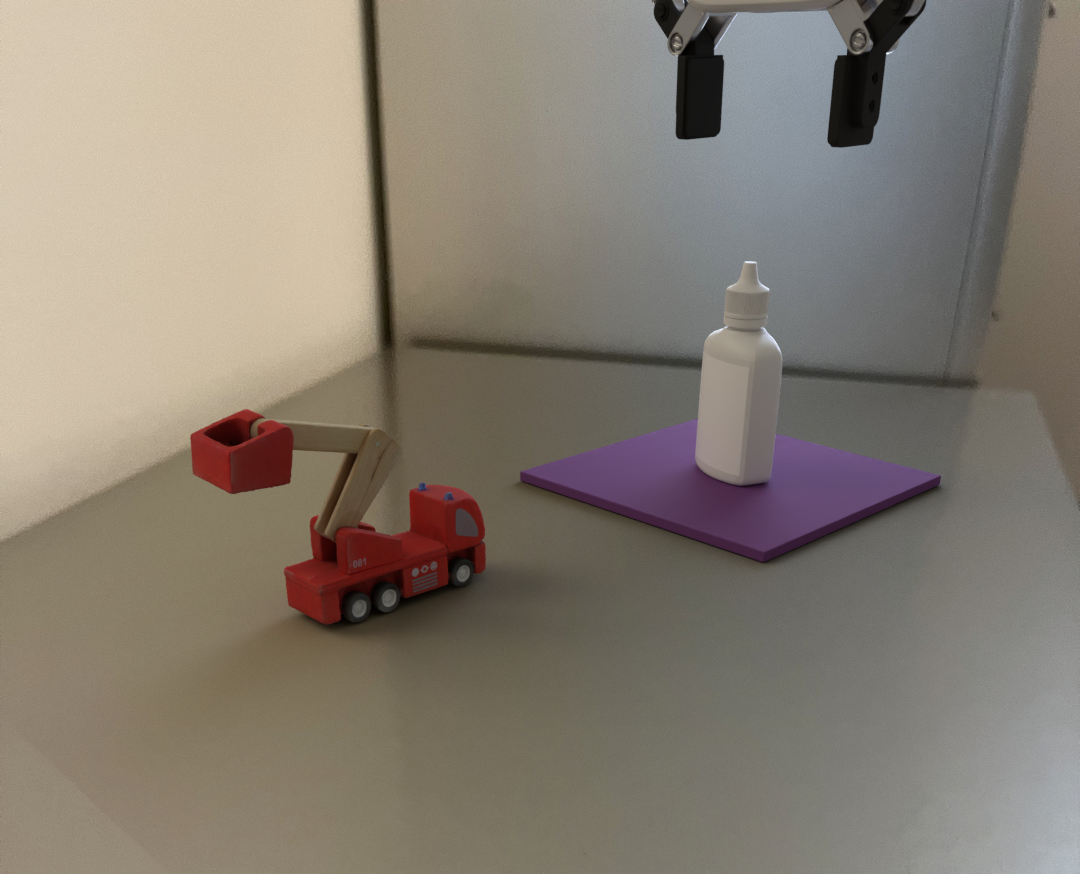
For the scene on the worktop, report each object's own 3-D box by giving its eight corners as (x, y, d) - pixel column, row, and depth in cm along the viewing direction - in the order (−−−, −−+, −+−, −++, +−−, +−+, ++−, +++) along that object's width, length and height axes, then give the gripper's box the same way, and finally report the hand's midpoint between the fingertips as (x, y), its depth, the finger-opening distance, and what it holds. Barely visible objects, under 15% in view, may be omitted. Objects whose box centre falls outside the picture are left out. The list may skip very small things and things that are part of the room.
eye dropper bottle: (696, 487, 69) (712, 269, 64) (694, 457, 74) (709, 253, 68) (771, 489, 69) (795, 271, 63) (764, 460, 74) (786, 255, 68)
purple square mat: (705, 423, 83) (706, 415, 83) (940, 484, 72) (941, 475, 72) (519, 480, 72) (519, 471, 72) (763, 563, 61) (764, 552, 61)
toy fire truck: (495, 577, 59) (493, 380, 54) (253, 661, 51) (225, 438, 46) (452, 558, 61) (447, 367, 56) (214, 635, 53) (183, 420, 48)
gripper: (1020, -297, 51) (956, 144, 60) (702, -235, 62) (687, 131, 70) (931, -328, 47) (876, 154, 55) (605, -255, 57) (601, 139, 66)
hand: (770, 141), depth 63 cm, fingers open, 9 cm apart
